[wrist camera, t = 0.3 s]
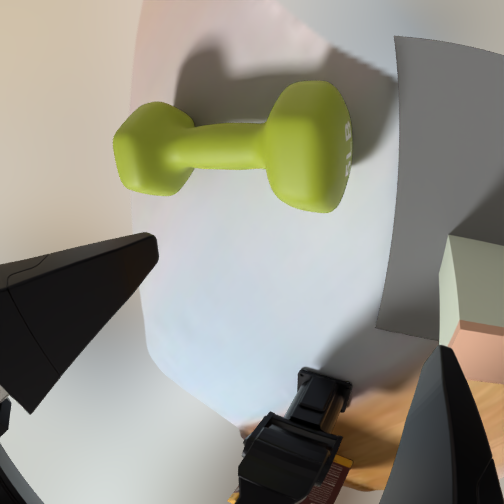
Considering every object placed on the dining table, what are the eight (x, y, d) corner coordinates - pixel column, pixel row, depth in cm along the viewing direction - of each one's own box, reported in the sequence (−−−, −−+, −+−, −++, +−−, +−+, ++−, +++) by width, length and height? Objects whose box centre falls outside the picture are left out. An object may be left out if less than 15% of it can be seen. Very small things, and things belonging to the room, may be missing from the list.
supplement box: (279, 427, 43) (232, 500, 32) (354, 460, 39) (318, 534, 27) (265, 440, 50) (225, 500, 38) (330, 470, 45) (297, 531, 34)
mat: (525, 348, 16) (526, 354, 15) (376, 321, 23) (375, 328, 23) (593, 96, 5) (599, 97, 4) (394, 38, 12) (393, 35, 12)
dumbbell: (357, 83, 15) (330, 77, 10) (356, 197, 19) (330, 246, 14) (165, 99, 23) (99, 113, 17) (177, 180, 27) (119, 210, 22)
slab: (525, 291, 14) (549, 387, 7) (438, 274, 18) (436, 374, 11) (539, 254, 12) (579, 346, 6) (448, 234, 16) (460, 329, 10)
